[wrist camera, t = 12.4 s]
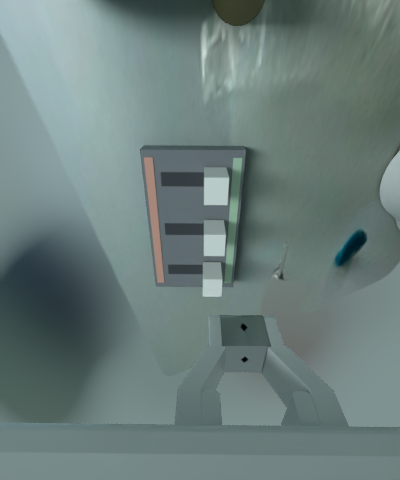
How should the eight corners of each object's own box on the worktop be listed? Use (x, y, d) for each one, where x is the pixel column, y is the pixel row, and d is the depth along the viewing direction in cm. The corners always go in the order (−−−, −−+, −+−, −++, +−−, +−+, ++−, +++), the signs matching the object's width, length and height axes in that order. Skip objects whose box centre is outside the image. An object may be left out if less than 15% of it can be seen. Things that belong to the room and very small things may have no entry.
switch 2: (220, 262, 43) (222, 279, 39) (219, 278, 44) (221, 296, 41) (202, 262, 43) (202, 279, 39) (202, 278, 44) (202, 296, 41)
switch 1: (226, 167, 34) (229, 177, 30) (224, 192, 36) (227, 205, 32) (204, 167, 34) (204, 177, 30) (203, 192, 36) (203, 205, 32)
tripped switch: (223, 220, 38) (226, 234, 35) (222, 240, 40) (224, 256, 37) (203, 219, 38) (204, 234, 35) (203, 240, 40) (203, 256, 37)
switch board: (243, 146, 35) (246, 150, 33) (231, 278, 48) (232, 287, 46) (143, 145, 35) (139, 149, 33) (158, 277, 48) (155, 286, 46)
